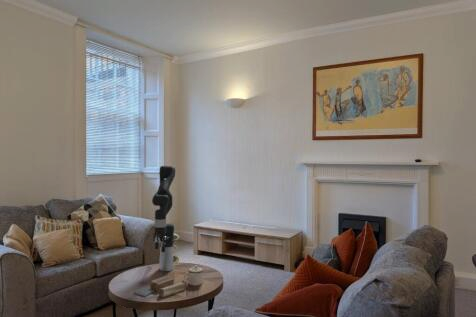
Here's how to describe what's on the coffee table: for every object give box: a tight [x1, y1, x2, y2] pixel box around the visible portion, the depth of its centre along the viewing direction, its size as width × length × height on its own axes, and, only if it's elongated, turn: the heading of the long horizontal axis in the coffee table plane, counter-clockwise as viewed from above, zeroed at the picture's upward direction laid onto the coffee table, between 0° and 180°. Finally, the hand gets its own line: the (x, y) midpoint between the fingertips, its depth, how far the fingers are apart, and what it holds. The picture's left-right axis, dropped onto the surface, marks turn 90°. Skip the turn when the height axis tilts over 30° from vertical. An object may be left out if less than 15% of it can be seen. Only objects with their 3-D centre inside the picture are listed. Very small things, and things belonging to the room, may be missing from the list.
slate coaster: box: [133, 287, 156, 298], centre depth 202 cm, size 9×9×1 cm
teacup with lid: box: [183, 264, 204, 287], centre depth 218 cm, size 12×9×12 cm
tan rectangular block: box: [149, 275, 175, 293], centre depth 210 cm, size 8×12×5 cm, turn 141°
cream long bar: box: [158, 280, 187, 298], centre depth 203 cm, size 3×18×5 cm, turn 139°
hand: (159, 250), depth 217 cm, fingers open, 8 cm apart
